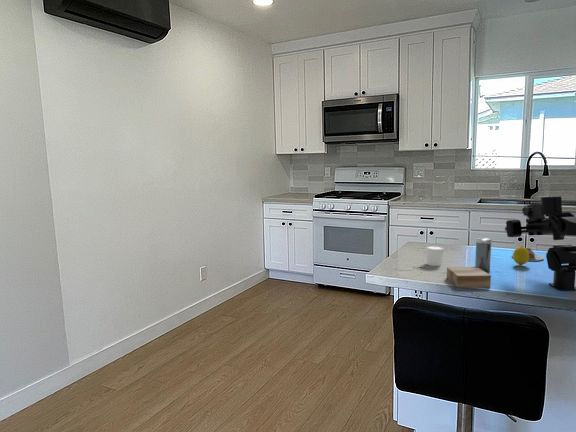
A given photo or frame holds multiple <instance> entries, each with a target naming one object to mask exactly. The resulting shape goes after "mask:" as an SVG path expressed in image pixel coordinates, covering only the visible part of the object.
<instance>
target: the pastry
mask: <svg viewBox="0 0 576 432" xmlns="http://www.w3.org/2000/svg"><path fill="white" fill-rule="evenodd" d="M525 248H526V249H527V250H528V252H529V260H528V262H529V261H530V262H540V261H541V262H542V261H543V260H545V257H544V256H542V255H539V254H535V252H533V250H532V249H531V248H529V247H525ZM513 254H514V253H512V254H511V256H512V258H513Z"/></svg>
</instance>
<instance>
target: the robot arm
mask: <svg viewBox="0 0 576 432" xmlns="http://www.w3.org/2000/svg"><path fill="white" fill-rule="evenodd" d="M562 199H563V198H562V196H561V195H559V196H543V197H540V203H530V204H527V205H524V206H523V208H522V209H521V212H522V214H523V217H524V216H525V217H527V218H526V219H525V223H526V225H525V226H522V222H521V220H520V219H507V220H506V222H505V224H506V226H505V227H504V231H505V232H506V236H507V238H519V237H521V236H522V234H525V233H528V235H527V236H528V237H529V236H530V237H531V236H551V235H552V239H553V241H564V239H565V236H575V237H576V215H574V214H573V213H572V212H570V211H563V206H562ZM545 257H546V261H547V268H548V269H549V270H551V271H552V272H553V281H552V282H549V283H548V285H549V286H551V287H553V288H555V289H556V290H559V291H576V285H575V284H576V245H572V244H559V245H552V247H549V248H548V250H547V252H546V255H545Z"/></svg>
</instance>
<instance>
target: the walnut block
mask: <svg viewBox="0 0 576 432" xmlns="http://www.w3.org/2000/svg"><path fill="white" fill-rule="evenodd" d="M446 279H447V280H448V281H450V283H452V284H453V285H454V286H455V287H457V288H491V282H492V281H491V279H492V276H491V274H489V273H486V272H485V271H483V270H481V269H480V268H478V267H475V266H461V267H460V266H455V267H454V266H452V267H446Z"/></svg>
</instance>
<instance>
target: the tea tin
mask: <svg viewBox="0 0 576 432" xmlns="http://www.w3.org/2000/svg"><path fill="white" fill-rule="evenodd" d="M475 240H476V241H475V242H476V243H475V245H476V246H475V262H474V267H478V268H480V269H481V270H483V271H485V272H486V273H488V274H489V273H490V272H491V255H492V239H491V238H489V237H488V238H487V237H477V238H476V239H475Z"/></svg>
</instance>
